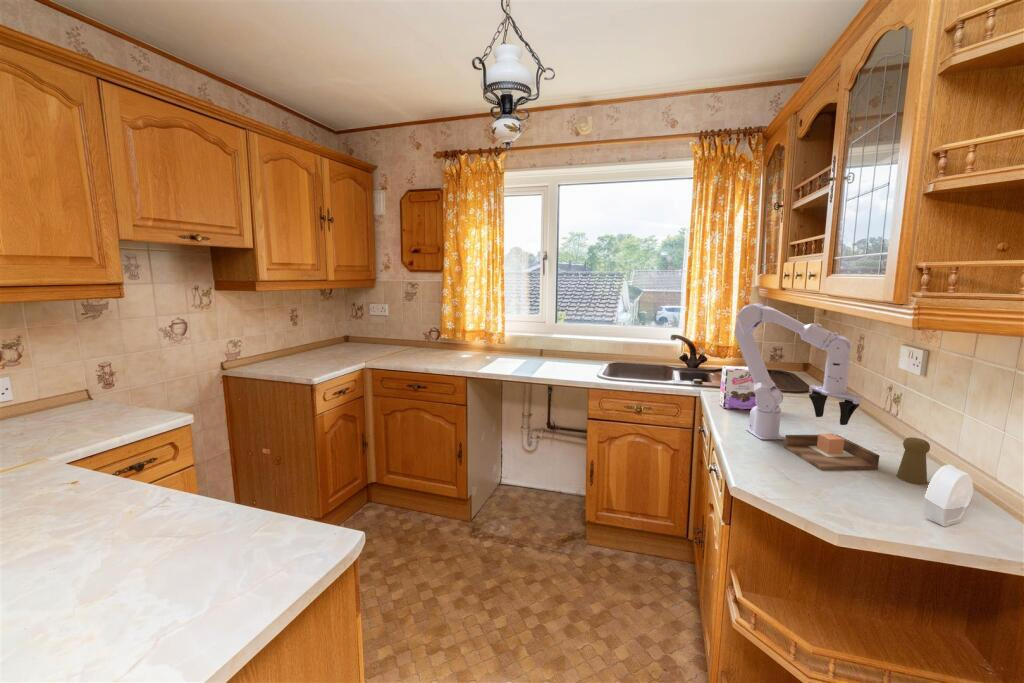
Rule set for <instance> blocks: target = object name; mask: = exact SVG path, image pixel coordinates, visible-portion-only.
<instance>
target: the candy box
mask: <svg viewBox="0 0 1024 683" xmlns="http://www.w3.org/2000/svg"><path fill="white" fill-rule="evenodd" d="M755 398H756V396H755V392H754V382H753V380H752V377H751V375H750V372H749V369H748V367H747V366H731V365H722V367H721V376H720V390H719V403H718V404H719V405H720V406H721V408H722V409H724V408H727V409H726V410H743V409H752V408H753V407H755V406H756V403H755Z"/></svg>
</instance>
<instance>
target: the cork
mask: <svg viewBox="0 0 1024 683" xmlns="http://www.w3.org/2000/svg"><path fill="white" fill-rule="evenodd" d="M902 446H903V449H904V452H903V455H902V458H901V461H900V464H899V468H898V470H897V473H896V477H897V478H898V479H899V480H901V481H903V482H906V483H909V484H914V485H923V484H924V485H927V484H928V470H927V467H928V466H927V453H929V452H930V449H931V445H930V443H929V441H927V440H925V439H922V438H918V437H912V436H911V437H906V438H905V439H904V440H903V443H902Z"/></svg>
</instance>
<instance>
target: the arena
mask: <svg viewBox="0 0 1024 683" xmlns="http://www.w3.org/2000/svg"><path fill="white" fill-rule="evenodd" d="M836 435H837V436H839V437H841V438H843V439H844V447H843V454H826V453H825V452H823V451H821V450H819V449H817V441H818V434H785V436H784V438H785V439H784V448H785V449H786V450H788V451H790V452H791V453H793V454H795V455H796V456H797V457H799V458H801V460H803V461H806V462H807V463H809V464H810V465H812V466H813V467H815V468H816V469H818V470H819V471H822V470H824V471H826V470H827V471H828V470H829V471H832V470H833V471H834V470H836V471H838V470H841V471H842V470H843V471H844V470H846V471H847V470H878V469H879V462H880V455H879V454H878V453H876V452H873V451H871V450H870V449H867V448H866V447H863V446H861V445H859V444H857V443H856V442H854V441H851V440H849V439H848V438H845V437H843V436H841V435H839V434H836Z"/></svg>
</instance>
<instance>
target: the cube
mask: <svg viewBox="0 0 1024 683" xmlns="http://www.w3.org/2000/svg"><path fill="white" fill-rule="evenodd" d="M817 435H818V441H817V449H819V450H821V451H823V452H825V453H826V454H843V447H844V439H843V438H844V437H843V438H841V437H842V436H841V437H839V436H840V435H839V436H837V435H838V434H835V433H818V434H817Z"/></svg>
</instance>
